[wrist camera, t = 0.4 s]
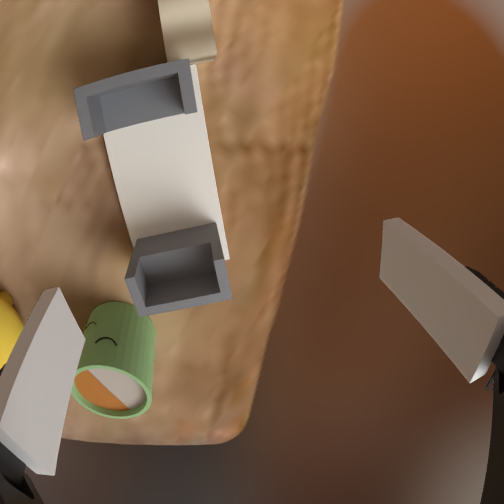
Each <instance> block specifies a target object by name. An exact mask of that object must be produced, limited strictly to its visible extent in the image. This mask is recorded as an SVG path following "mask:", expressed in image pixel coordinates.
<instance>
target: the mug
mask: <svg viewBox="0 0 504 504" xmlns="http://www.w3.org/2000/svg"><path fill="white" fill-rule="evenodd" d="M83 335H84V337H85V339H86V340H85V343H84V346H83V350H82V353H81V356H80V360H79V364H78V367H77V371H76V375H75V378H74V382H73V386H72V390H71V394H72V395H73V397H74V398H75V399H76V400H77V401H78V402H79V403H80V404H81V405H82V406H83V407H85V408H86V409H88V410H90V411H92V412H94V413H96V414H99V415H101V416H105V417H109V418H116V419H126V418H132V417H136V416H139V415H141V414H143V413H144V412H146V411H147V410H148V408H149V407H150V405H151V400H152V378H153V361H154V347H155V327H154V324H153V322H152V320H151V319H150V318H149V316H142V317H139V315H138V313H137V310H136V308H135V306H134V305H131V304H128V303H124V302H115V301H114V302H107V303H104V304H101V305H99V306H98V307H96V308H95V309H94V310H93V311H92V312H91V314H90V316H89V319H88V322H87V325H86V327H85V330H84V333H83Z"/></svg>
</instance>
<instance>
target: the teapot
mask: <svg viewBox="0 0 504 504" xmlns="http://www.w3.org/2000/svg"><path fill="white" fill-rule="evenodd" d="M12 305H13V298H12V297H11V295H10V294H9V293H7V292H5V291H1V292H0V369H1V368H2V367H3V365H4V364H6V362H7V360H8V358H9V356H10V354H11V352H12V350H13V348H14V346H15V343H16V341H17V339H18V337H19V335H20V333H21V332H22V330H23V328H24V324H23V322H22V320H21V318H20V316H19V315H18V313H17V312H16V310H15V309H14V308H13V307H12Z"/></svg>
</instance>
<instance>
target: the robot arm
mask: <svg viewBox="0 0 504 504" xmlns="http://www.w3.org/2000/svg"><path fill="white" fill-rule="evenodd" d="M380 279H381V280H382V281H383V282H384V283H385V284H386V285H387V286H388V287H389V289H390V290H391V291H392V292H393V293H394V294H395V295H396V296H397V297H398V299H399V300H400V301H401V302H402V303H403V304H404V305H405V306H406V307H407V309H408V310H409V311H410V312H411V313H412V314H413V315H414V317H415V318H416V319H417V320H418V321H419V322H420V323H421V325H422V326H423V327H424V328H425V329H426V331H427V332H428V333H429V334H430V335H431V336H432V338H433V339H434V340H435V341H436V342H437V344H438V345H439V346H440V347H441V348H442V349H443V351H444V352H445V353H446V354H447V356H448V357H449V358H450V359H451V360H452V361H453V363H454V364H455V365H456V367H457V368H458V369H459V370H460V372H461V373H462V374H463V376H464V377H465V378H466V379H467V380H468V382H469V383H471V382H473V381H474V380H476V379H478V378H479V377H481V376H483V375H485V373H486V372H487V369H488V367H489V366H490V364H491V362H493V363H494V364H495V366H496V369H495V371H494V372H493V374H492V376H491V378H490V380H489V381H488V383H487V385H486V390H488V389H489V388H490V386H491V384H492V383H493V389H492V391H493V414H492V429H491V440H490V449H489V457H488V464H487V472H486V477H485V482H484V488H483V493H482V498H481V503H480V504H504V292H502V291H501V290H500V289H499V288H498V287H497V288H496V287H495V285H494V284H493V283H492V282H491V281H488V279H487V278H486V277H484V276H483V275H482V274H481V273H480V272H478V271H476V270H474V269H471V268H469V267H467V266H465V267H464V266H463V265H462V264H461V263H459V262H458V261H457V260H455V259H454V258H453V257H451V256H450V255H449V254H447V253H446V252H445V251H444V250H443V249H441V248H440V247H439V246H437V245H436V244H434V243H433V242H432V241H431V240H429V239H428V238H426V237H425V236H424V235H422V234H421V233H420V232H418V231H417V230H415V229H414V228H413V227H411V226H410V225H408V224H407V223H405V222H404V221H403V220H401V219H400V218H394V219H389V220H384V221H383V240H382V255H381V266H380ZM85 340H86V339H85V337H84V335H83V334H82V332H81V330H80V328H79V326H78V324H77V322H76V320H75V318H74V316H73V314H72V312H71V310H70V308H69V306H68V304H67V302H66V300H65V298H64V296H63V294H62V292H61V290H60V288H59V287H56V288H51V289H46V290H44V291H43V293H42V295H41V296H40V298H39V300H38V302H37V304H36V305H35V307H34V309H33V311H32V313H31V314H30V316H29V318H28V320H27V322H26V324H25V326H24V328H23V330H22V332H21V333H20V335H19V337H18V339H17V341H16V343H15V346H14V348H13V350H12V352H11V354H10V356H9V358H8V360H7V362H6V364H4V365H3V367H2V368H1V369H0V504H44V502H43V501H42V499H41V497H40V495H39V494H38V492H37V490H36V488H35V486H34V484H33V482H32V481H31V479H30V477H29V476H28V475H27V474H26V473H25V472H24V471H25V466H26V465H27V466H28V467H29V468H30V469H32V470H33V471H34V472H35V473H37V474H45V475H55V469H56V463H57V457H58V451H59V445H60V440H61V435H62V430H63V425H64V420H65V416H66V411H67V407H68V402H69V398H70V394H71V390H72V386H73V382H74V378H75V375H76V371H77V367H78V364H79V360H80V356H81V353H82V350H83V346H84V343H85Z"/></svg>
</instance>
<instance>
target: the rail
mask: <svg viewBox="0 0 504 504" xmlns="http://www.w3.org/2000/svg"><path fill="white" fill-rule="evenodd" d="M158 6H159V13H160V20H161V26H162V33H163V39H164V45H165V51H166V57H167V63H168V62H172V61H177V60H183V59H188V58H189V62H190V65H193V64H201V63H206V62H212V61H213V60H214V59H215V57H216V55H217V49H216V43H215V37H214V31H213V25H212V19H211V13H210V7H209V1H208V0H158Z"/></svg>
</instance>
